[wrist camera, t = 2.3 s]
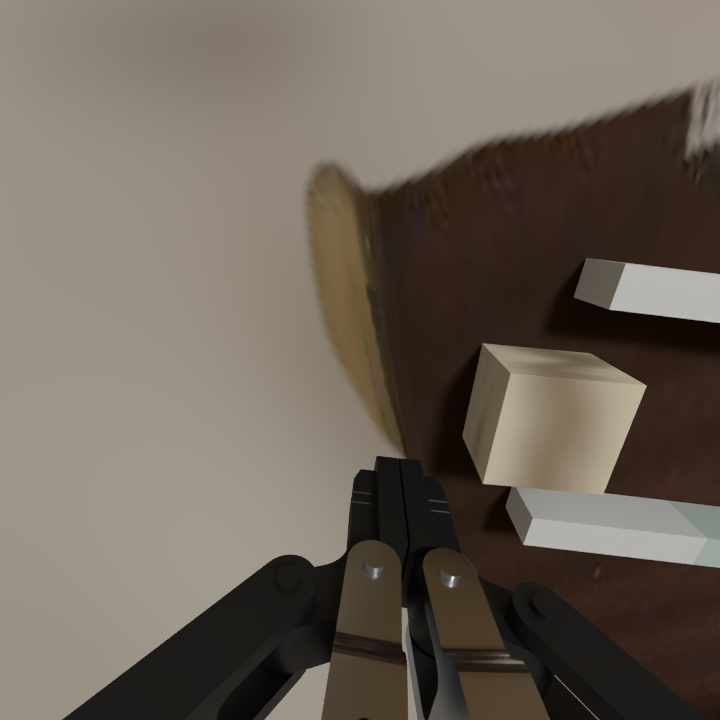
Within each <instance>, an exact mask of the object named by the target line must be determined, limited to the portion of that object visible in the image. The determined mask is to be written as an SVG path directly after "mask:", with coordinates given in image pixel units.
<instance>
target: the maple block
mask: <svg viewBox="0 0 720 720" xmlns="http://www.w3.org/2000/svg"><path fill="white" fill-rule="evenodd" d="M645 389H646V385H644V384H643V383H641V382H639V381H637V380H636V379H634V378H632V377H631V376H629V375H627V374H625V373H624V372H622V371H620V370H618V369H617V368H615V367H613V366H611V365H610V364H608V363H606V362H604V361H603V360H601V359H599V358H597V357H596V356H594V355H592V354H590V353H580V352H570V351H559V350H548V349H537V348H526V347H515V346H504V345H494V344H483V343H482V348H481V352H480V357H479V361H478V366H477V371H476V375H475V380H474V385H473V389H472V394H471V398H470V403H469V408H468V412H467V417H466V422H465V426H464V431H463V435H462V436H463V439H464V441H465V443H466V446H467V448H468V450H469V453H470V455H471V457H472V460H473V462H474V464H475V467H476V469H477V471H478V474H479V476H480V478H481V481H482V483H483V484H491V485H502V486H513V487H523V488H534V489H545V490H555V491H566V492H577V493H587V494H598V495H603V493H604V490H605V488H606V485H607V483H608V481H609V478H610V476H611V473H612V471H613V468H614V466H615V463H616V461H617V458H618V456H619V453H620V451H621V448H622V446H623V443H624V441H625V438H626V436H627V433H628V431H629V428H630V426H631V424H632V421H633V419H634V416H635V414H636V411H637V409H638V406H639V404H640V401H641V399H642V396H643V394H644V391H645Z"/></svg>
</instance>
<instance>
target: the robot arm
mask: <svg viewBox="0 0 720 720" xmlns="http://www.w3.org/2000/svg"><path fill="white" fill-rule="evenodd" d="M402 607H404V608H407V611H408V620H409V621H408V626H407V630H406V636H405V637H406V646H407V652H408V659H409V666H410V672H411V678H412V685H413V692H414V698H415V705H416V712H417V718H418V720H597V719H596V718H595V717H594V716H593V715H592V714H591V712H592V713H593V714H594V715H596V717H597V718H599V720H707V719H706V718H704V717H703V716H702V715H701V714H700V713H699V712H697V711H696V710H695V709H694V708H693V707H691V706H690V705H689V704H688V703H687V702H685V701H684V700H683V699H682V698H681V697H679V696H678V695H677V694H676V693H675V692H673V691H672V690H671V689H670V688H669V687H667V686H666V685H665V684H664V683H663V682H661V681H660V680H659V679H658V678H657V677H655V676H654V675H653V674H652V673H651V672H649V671H648V670H647V669H646V668H645V667H643V666H642V665H641V664H640V663H639V662H637V661H636V660H635V659H634V658H633V657H631V656H630V655H629V654H628V653H627V652H625V651H624V650H623V649H622V648H621V647H619V646H618V645H617V644H616V643H615V642H613V641H612V640H611V639H610V638H609V637H607V636H606V635H605V634H604V633H603V632H601V631H600V630H599V629H598V628H597V627H596V626H594V625H593V624H592V623H591V622H590V621H588V620H587V619H586V618H585V617H584V616H582V615H581V614H580V613H579V612H578V611H576V610H575V609H574V608H573V607H572V606H570V605H569V604H568V603H567V602H566V601H564V600H563V599H562V598H561V597H560V596H558V595H557V594H556V593H555V592H553V591H552V590H550V589H549V588H547V587H545V586H543V585H540V584H537V583H533V582H523V583H520V584H518V585H517V586H516V587H515V588H514V591H513V592H512V591H510V590H508V589H505V588H503V587H500V586H498V585H495V584H493V583H491V582H488V581H486V580H485V579H483V578H481V577H480V576H479V575H477V573H476V571H475V569H474V567H473V565H472V564H471V563H470V562H469V560H468V559H466V558H465V557H464V556H463V555H462V553H461V550H460V546H459V543H458V539H457V535H456V532H455V528H454V525H453V521H452V517H451V514H450V510H449V507H448V504H447V499H446V496H445V492H444V489H443V488H442V486H441V485H440V484H439V483H438V481H437V480H436V479H435V478H434V477H425V476H424V475H423V470H422V466H421V462H420V461H418V460H409V459H400V458H399V459H397V458H391V457H382V456H377V457H376V462H375V468H374V471H371V470H363V469H362V470H360V471H359V473H358V474H357V475H356V477H355V478H354V483H353V490H352V497H351V506H350V512H349V525H348V539H347V551H346V552H345V554H344V555H343V556H342V557H341V558H340V559H338V560H336V561H335V562H333V563H330V564H327V565H323V566H317V567H314V566H313V565H312V564H311V563H310V562H309V561H308V560H307V559H305V558H303V557H301V556H297V555H283V556H280V557H277V558H275V559H273V560H272V561H270V562H269V563H267V564H266V565H265V566H263V567H262V568H261V569H260V570H258V571H257V572H256V573H254V574H253V575H252V576H250V577H249V578H248V579H246V580H245V581H244V582H242V583H241V584H240V585H239V586H237V587H236V588H234V589H233V590H232V591H231V592H229V593H228V594H227V595H225V596H224V597H223V598H222V599H220V600H219V601H217V602H216V603H215V604H214V605H212V606H211V607H210V608H208V609H207V610H206V611H204V612H203V613H202V614H200V615H199V616H198V617H196V618H195V619H194V620H193V621H191V622H190V623H189V624H187V625H186V626H185V627H183V628H182V629H181V630H179V631H178V632H177V633H175V634H174V635H173V636H172V637H170V638H169V639H168V640H166V641H165V642H164V643H162V644H161V645H160V646H158V647H157V648H156V649H154V650H153V651H152V652H151V653H149V654H148V655H147V656H145V657H144V658H143V659H141V660H140V661H139V662H137V663H136V664H135V665H133V666H132V667H131V668H130V669H128V670H127V671H126V672H124V673H123V674H122V675H120V676H119V677H118V678H117V679H115V680H114V681H112V682H111V683H110V684H109V685H107V686H106V687H105V688H103V689H102V690H101V691H99V692H98V693H97V694H95V695H94V696H93V697H92V698H90V699H89V700H88V701H86V702H85V703H84V704H82V705H81V706H80V707H79V708H77V709H76V710H74V711H73V712H72V713H71V714H70V715H68V716H67V717H65V718H64V719H63V720H264V719H265V718H266V717H267V716H268V715H269V714H270V712H271V711H272V710H273V709H274V708H275V707H276V706H277V704H278V703H279V702H280V701H281V700H282V699H283V698H284V696H285V695H286V694H287V693H288V692H289V690H290V689H291V688H292V687H293V686H294V685H295V684H296V683H297V681H298V680H299V679H300V678H301V677H302V675H303V674H304V672H305V671H306V669H308V668H312V667H315V666H318V665H321V664H325V663H328V662H330V668H329V674H328V680H327V686H326V693H325V699H324V706H323V712H322V718H321V720H408V687H407V660H406V654H405V652H403V650H402ZM554 675H556V676H557V677H558V678H559V679H560V680H561V681H562V682H563V683H564V684H565V685H566V686H567V687H568V688H569V689H570V690H571V691H572V692H573V693H574V694H575V695H576V696H577V697H578V698H579V699H580V701H582V703H584V705H585V706H586V707H587V708H588V709H589V710H590V711H591V712H590V711H588V710H587V708H585V706H584V705H582V703H581V702H580V701H578V699H577V698H576V697H575V696H574V695H573V694H571V692H570V691H569V690H568V689H567V688H566V687H565V686H564V685H563V684H562V683H561V682H560V681H559V680H558V679H557V678H556V677H555V676H554Z"/></svg>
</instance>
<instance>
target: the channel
mask: <svg viewBox="0 0 720 720" xmlns="http://www.w3.org/2000/svg"><path fill="white" fill-rule="evenodd" d="M574 298H577V299H580V300H583V301H586V302H588V303H591V304H594V305H597V306H600V307H603V308H606V309H609V310H617V311H625V312H633V313H642V314H650V315H658V316H667V317H675V318H683V319H691V320H700V321H708V322H716V323H720V274H713V273H705V272H697V271H688V270H680V269H672V268H664V267H655V266H647V265H639V264H631V263H622V262H614V261H606V260H598V259H589V258H586V261H585V264H584V267H583V270H582V273H581V276H580V279H579V282H578V285H577V288H576V291H575V294H574ZM505 507H506V509H507V512H508V514H509V516H510V518H511V520H512V522H513V524H514V526H515V528H516V531H517V533H518V535H519V537H520V539H521V541H522V543H523V545H531V546H539V547H548V548H556V549H565V550H573V551H582V552H590V553H599V554H607V555H616V556H624V557H633V558H641V559H650V560H658V561H667V562H675V563H684V564H693V565H701V566H710V567H718V568H720V507H717V506H709V505H700V504H692V503H683V502H675V501H667V500H658V499H650V498H641V497H633V496H624V495H616V494H607V493H603V495H598V494H587V493H577V492H566V491H555V490H545V489H534V488H523V487H513V486H512V488H511V491H510V494H509V497H508V500H507V503H506V506H505Z"/></svg>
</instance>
